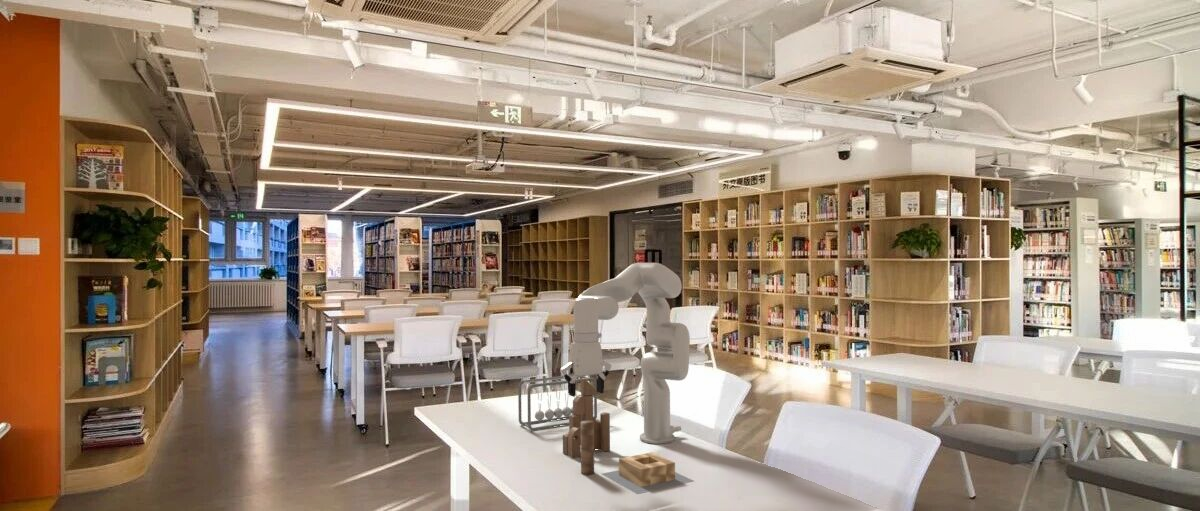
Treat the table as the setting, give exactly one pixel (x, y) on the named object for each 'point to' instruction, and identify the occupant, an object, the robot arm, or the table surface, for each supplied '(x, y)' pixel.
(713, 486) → the table surface
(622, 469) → the square-hole wood block
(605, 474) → the slate mat
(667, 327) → the robot arm
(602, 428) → the wooden toy
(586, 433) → the walnut dowel
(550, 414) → the newton's cradle
